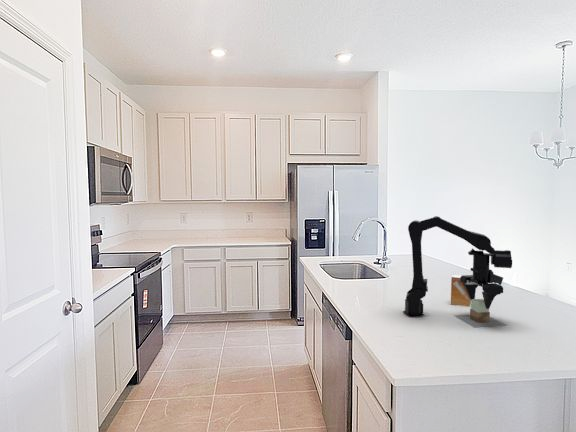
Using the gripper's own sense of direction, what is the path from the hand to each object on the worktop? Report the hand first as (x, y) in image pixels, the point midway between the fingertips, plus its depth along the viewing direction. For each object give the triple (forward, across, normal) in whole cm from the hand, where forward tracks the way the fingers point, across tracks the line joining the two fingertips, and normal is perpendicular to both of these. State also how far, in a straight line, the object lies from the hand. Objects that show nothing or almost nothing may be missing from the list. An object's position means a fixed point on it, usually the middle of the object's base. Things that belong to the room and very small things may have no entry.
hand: (479, 305), depth 147 cm
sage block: (+2, 0, 0) cm, 2 cm away
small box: (+7, +22, -6) cm, 24 cm away
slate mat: (+7, 0, 0) cm, 7 cm away
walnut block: (+6, 0, 0) cm, 6 cm away
